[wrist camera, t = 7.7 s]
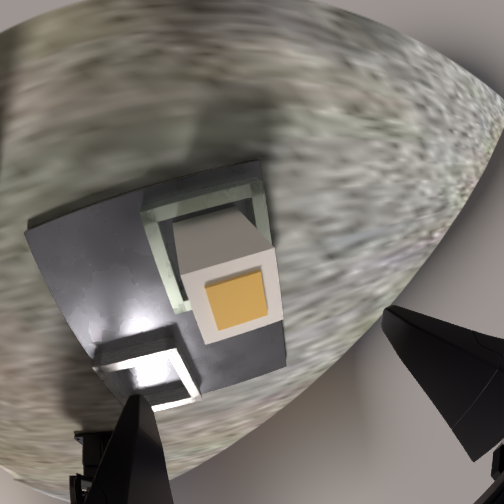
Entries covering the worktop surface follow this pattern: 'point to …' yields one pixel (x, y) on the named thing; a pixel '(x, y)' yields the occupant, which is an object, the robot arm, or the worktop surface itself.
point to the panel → (152, 288)
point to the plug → (227, 274)
